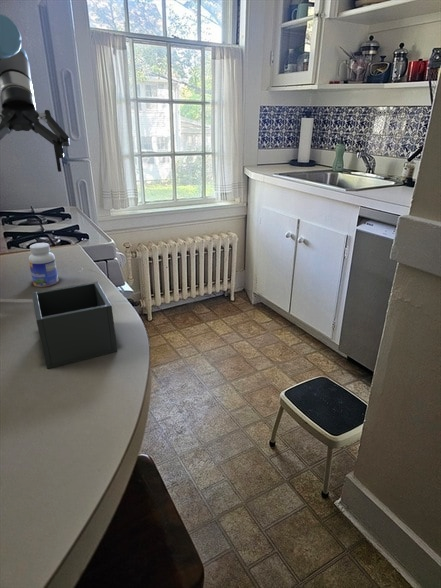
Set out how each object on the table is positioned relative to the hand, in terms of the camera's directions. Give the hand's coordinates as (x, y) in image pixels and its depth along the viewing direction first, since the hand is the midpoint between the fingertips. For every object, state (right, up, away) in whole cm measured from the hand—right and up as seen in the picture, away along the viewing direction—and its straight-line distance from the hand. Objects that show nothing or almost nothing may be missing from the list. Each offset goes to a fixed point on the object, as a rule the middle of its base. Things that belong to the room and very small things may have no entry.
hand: (27, 169), depth 89 cm
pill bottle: (+4, -27, +1) cm, 27 cm away
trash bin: (+19, -37, -22) cm, 47 cm away
